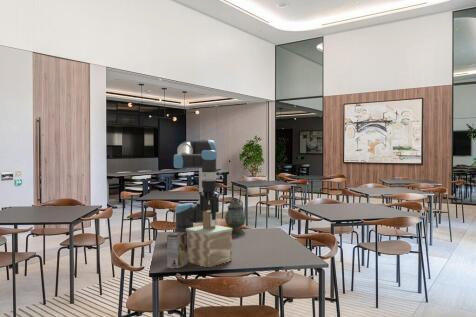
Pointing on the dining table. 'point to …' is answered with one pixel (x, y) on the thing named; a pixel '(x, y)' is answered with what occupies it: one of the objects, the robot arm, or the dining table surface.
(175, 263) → the coffee box
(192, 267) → the dining table surface
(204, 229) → the lid
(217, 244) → the box
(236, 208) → the dark green urn
